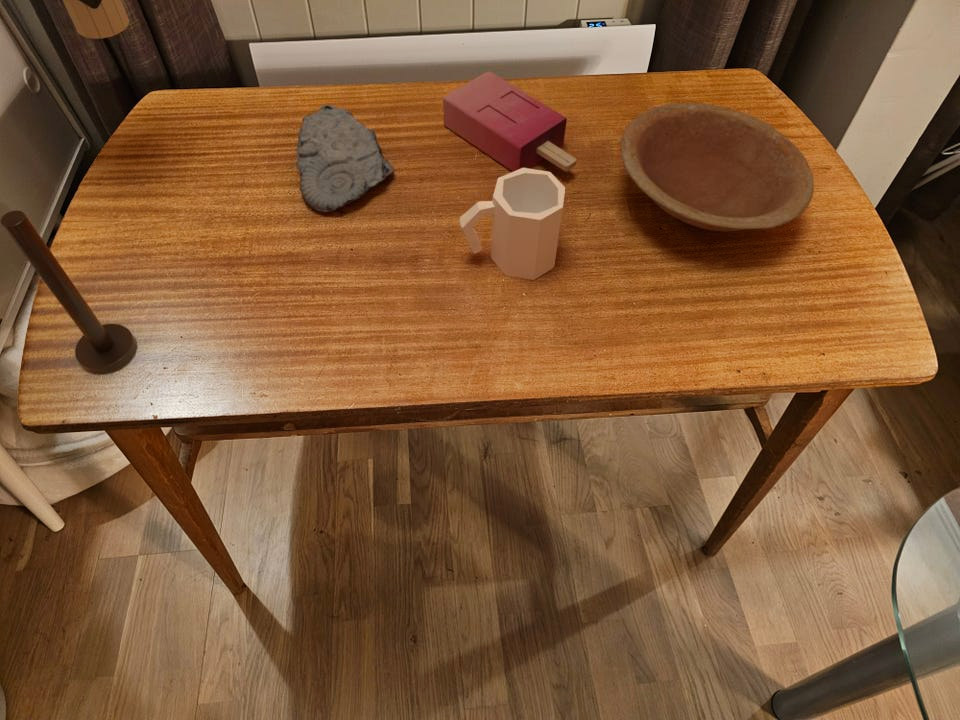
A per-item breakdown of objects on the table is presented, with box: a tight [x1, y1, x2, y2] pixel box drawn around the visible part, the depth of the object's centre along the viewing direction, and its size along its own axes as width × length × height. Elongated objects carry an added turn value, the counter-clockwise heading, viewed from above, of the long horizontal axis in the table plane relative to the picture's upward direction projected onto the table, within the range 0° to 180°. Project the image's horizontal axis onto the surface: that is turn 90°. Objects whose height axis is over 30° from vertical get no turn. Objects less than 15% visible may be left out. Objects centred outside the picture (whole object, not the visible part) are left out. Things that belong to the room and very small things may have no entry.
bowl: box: [619, 102, 815, 232], centre depth 89 cm, size 24×24×8 cm
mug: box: [459, 168, 566, 281], centre depth 83 cm, size 12×9×10 cm
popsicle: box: [442, 70, 577, 172], centre depth 97 cm, size 9×5×20 cm
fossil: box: [295, 104, 395, 213], centre depth 94 cm, size 13×18×4 cm
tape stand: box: [0, 209, 138, 375], centre depth 70 cm, size 6×6×20 cm
